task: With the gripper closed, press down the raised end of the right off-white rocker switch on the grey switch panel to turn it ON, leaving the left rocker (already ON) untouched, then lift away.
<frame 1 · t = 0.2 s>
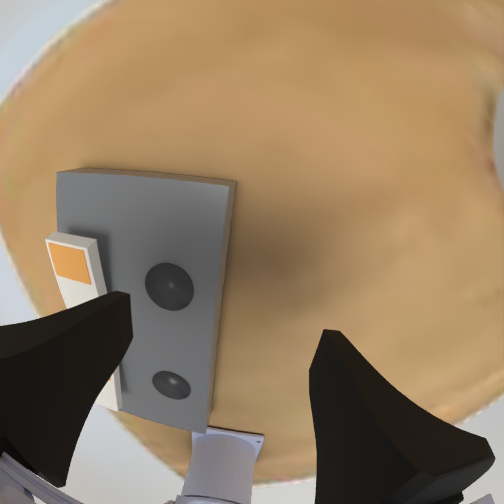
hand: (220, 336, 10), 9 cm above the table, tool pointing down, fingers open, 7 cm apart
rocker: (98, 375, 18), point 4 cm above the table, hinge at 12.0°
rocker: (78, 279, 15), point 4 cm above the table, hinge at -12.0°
grey switch panel: (146, 312, 21), on the table
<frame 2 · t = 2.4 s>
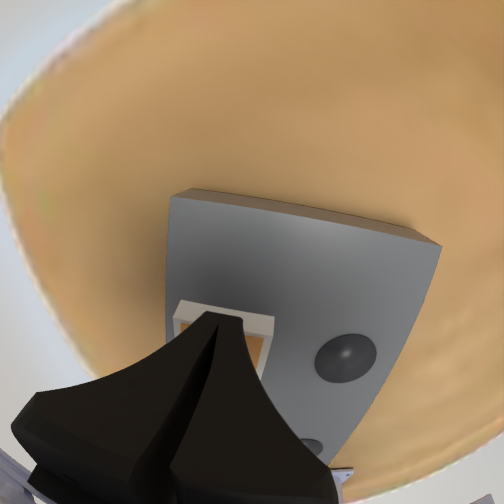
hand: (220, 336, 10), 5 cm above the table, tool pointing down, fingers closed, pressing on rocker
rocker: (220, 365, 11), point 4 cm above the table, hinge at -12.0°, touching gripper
grey switch panel: (271, 376, 17), on the table
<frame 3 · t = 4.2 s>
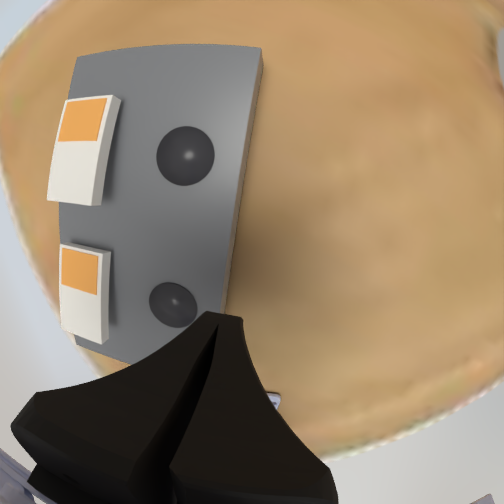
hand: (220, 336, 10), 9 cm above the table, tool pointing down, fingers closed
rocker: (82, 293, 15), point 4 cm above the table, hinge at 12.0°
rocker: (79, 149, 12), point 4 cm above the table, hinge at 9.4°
grey switch panel: (150, 217, 18), on the table
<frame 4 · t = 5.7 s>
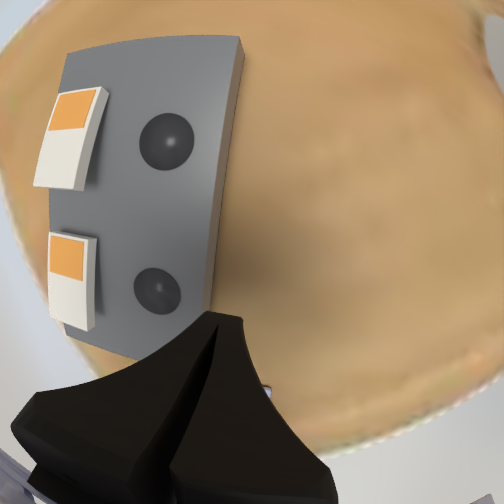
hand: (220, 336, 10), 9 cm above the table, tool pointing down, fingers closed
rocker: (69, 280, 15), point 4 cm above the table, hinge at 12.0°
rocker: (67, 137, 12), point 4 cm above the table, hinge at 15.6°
grey switch panel: (136, 206, 18), on the table
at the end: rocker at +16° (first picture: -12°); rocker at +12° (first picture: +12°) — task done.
